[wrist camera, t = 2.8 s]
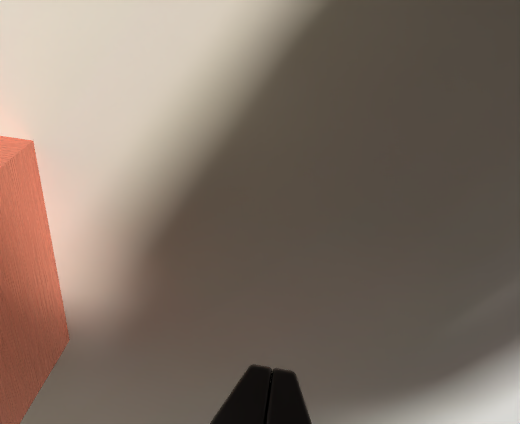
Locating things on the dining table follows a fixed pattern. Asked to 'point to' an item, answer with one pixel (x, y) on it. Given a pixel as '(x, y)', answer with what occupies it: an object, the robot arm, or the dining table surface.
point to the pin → (26, 283)
